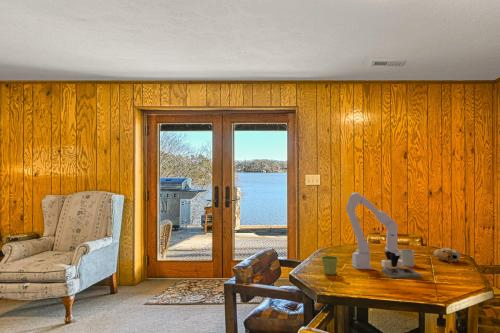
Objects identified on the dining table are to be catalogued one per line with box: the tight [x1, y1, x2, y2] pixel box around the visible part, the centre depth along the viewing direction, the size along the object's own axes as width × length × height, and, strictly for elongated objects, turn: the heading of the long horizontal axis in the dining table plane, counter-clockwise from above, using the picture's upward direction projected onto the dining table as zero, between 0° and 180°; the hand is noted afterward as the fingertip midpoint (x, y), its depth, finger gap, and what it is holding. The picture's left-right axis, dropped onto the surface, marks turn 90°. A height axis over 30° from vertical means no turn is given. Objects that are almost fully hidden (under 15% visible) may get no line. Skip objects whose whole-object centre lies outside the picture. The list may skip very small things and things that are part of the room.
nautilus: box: [433, 247, 462, 265], centre depth 211 cm, size 8×21×15 cm
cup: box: [398, 248, 415, 268], centre depth 204 cm, size 7×10×9 cm
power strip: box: [381, 259, 404, 269], centre depth 195 cm, size 11×4×5 cm, turn 92°
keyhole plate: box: [381, 267, 422, 279], centre depth 185 cm, size 16×12×2 cm
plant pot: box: [320, 255, 339, 276], centre depth 187 cm, size 9×9×9 cm
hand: (392, 265), depth 195 cm, fingers open, 4 cm apart
